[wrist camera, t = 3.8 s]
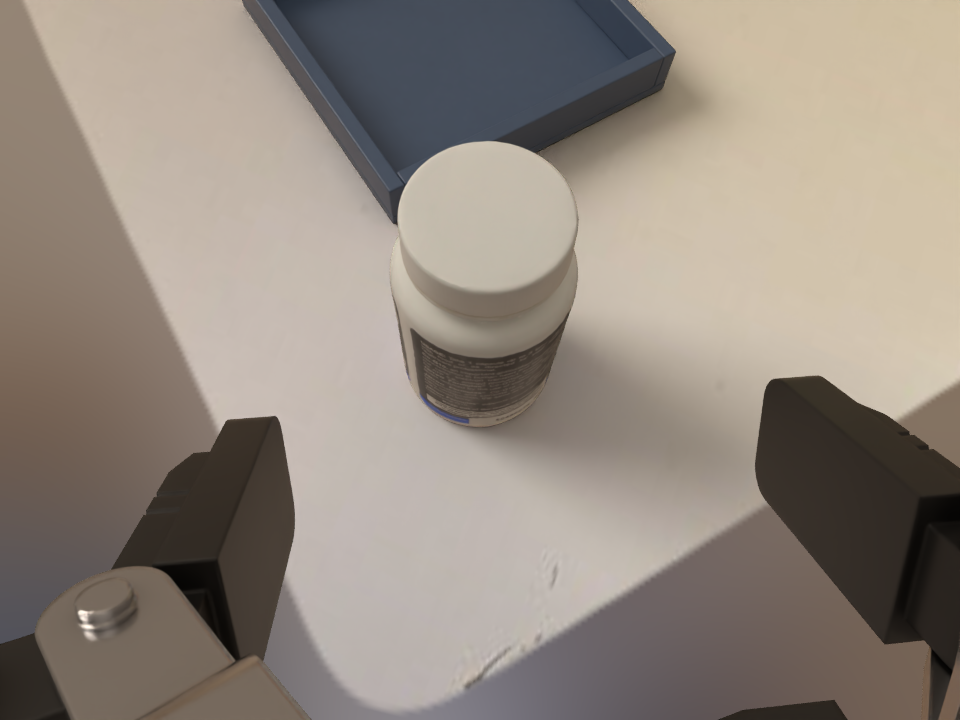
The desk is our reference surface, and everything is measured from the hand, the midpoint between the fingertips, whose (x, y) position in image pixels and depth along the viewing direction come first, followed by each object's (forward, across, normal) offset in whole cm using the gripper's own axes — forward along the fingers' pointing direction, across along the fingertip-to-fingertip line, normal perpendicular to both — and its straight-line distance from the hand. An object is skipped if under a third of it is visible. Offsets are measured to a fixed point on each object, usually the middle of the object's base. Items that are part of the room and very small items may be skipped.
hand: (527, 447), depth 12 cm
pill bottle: (+11, 0, +3) cm, 12 cm away
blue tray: (+21, 0, -7) cm, 22 cm away
